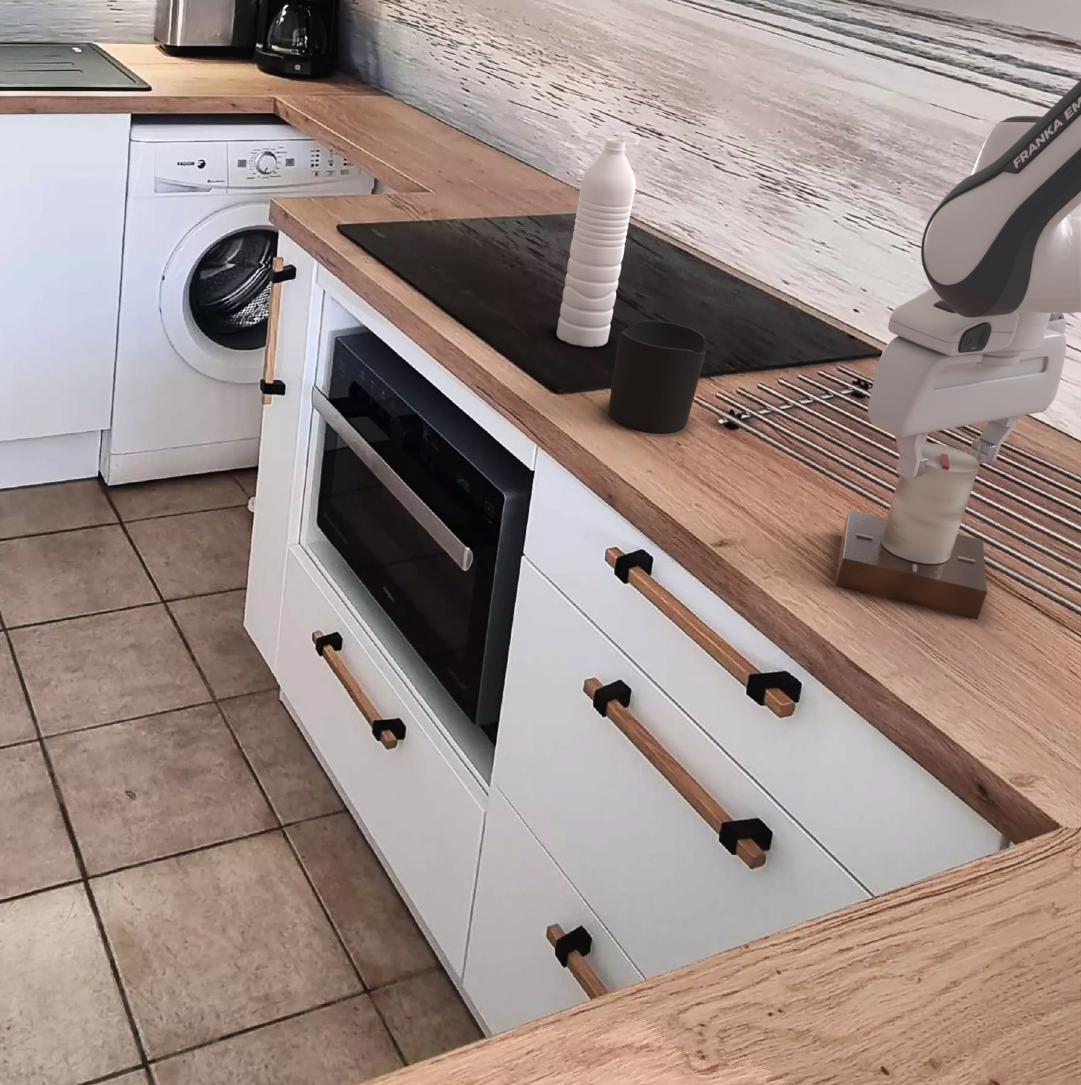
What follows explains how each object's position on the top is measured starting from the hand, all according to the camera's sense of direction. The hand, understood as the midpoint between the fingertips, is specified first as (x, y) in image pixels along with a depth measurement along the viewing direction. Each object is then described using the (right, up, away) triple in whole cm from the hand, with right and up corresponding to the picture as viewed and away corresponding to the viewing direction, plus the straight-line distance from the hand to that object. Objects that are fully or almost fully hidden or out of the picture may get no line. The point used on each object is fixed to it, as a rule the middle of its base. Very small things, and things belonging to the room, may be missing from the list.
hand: (945, 467), depth 123 cm
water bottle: (-22, +19, +57) cm, 65 cm away
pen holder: (-19, +7, +34) cm, 40 cm away
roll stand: (-1, -10, +5) cm, 11 cm away
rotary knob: (-1, -7, +4) cm, 8 cm away
